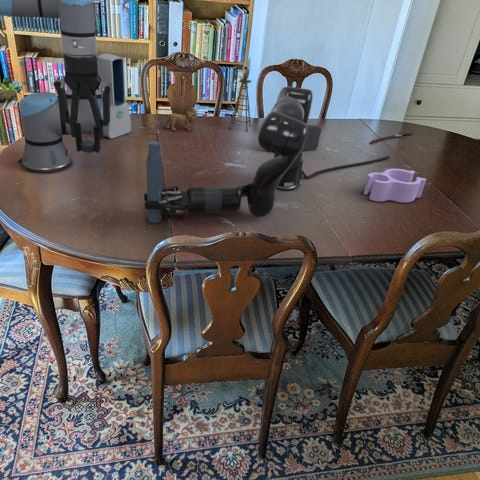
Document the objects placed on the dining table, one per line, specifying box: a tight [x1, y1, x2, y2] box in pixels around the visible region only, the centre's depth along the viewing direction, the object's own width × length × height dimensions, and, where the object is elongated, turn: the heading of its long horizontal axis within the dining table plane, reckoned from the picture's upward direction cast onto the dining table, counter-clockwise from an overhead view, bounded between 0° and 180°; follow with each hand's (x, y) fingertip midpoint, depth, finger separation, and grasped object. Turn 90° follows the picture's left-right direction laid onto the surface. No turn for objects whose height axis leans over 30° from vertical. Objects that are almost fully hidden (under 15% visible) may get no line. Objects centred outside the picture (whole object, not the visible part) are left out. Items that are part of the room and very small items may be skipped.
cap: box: [80, 140, 95, 154], centre depth 119 cm, size 4×4×2 cm
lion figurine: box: [162, 107, 198, 132], centre depth 197 cm, size 15×5×9 cm, turn 110°
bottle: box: [146, 140, 163, 224], centre depth 129 cm, size 4×4×24 cm
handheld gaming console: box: [303, 124, 322, 151], centre depth 189 cm, size 23×3×10 cm, turn 108°
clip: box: [362, 168, 427, 203], centre depth 162 cm, size 20×12×7 cm, turn 109°
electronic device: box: [97, 53, 132, 139], centre depth 180 cm, size 12×8×30 cm, turn 148°
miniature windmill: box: [228, 58, 252, 132], centre depth 200 cm, size 9×8×30 cm
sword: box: [370, 132, 414, 145], centre depth 214 cm, size 31×3×1 cm, turn 126°
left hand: (88, 149), depth 120 cm, fingers closed on cap, 4 cm apart
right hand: (144, 201), depth 132 cm, fingers closed on bottle, 4 cm apart
